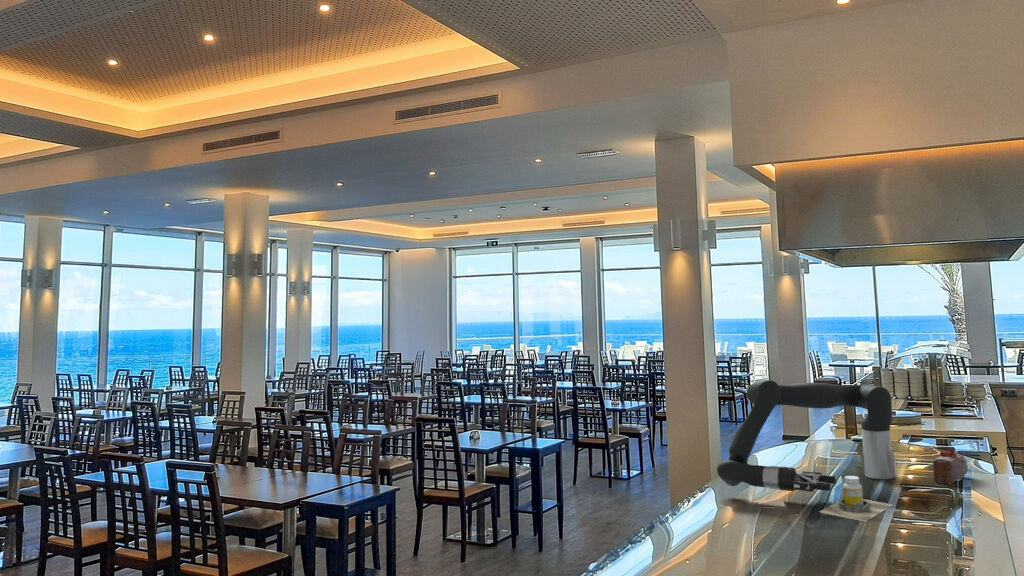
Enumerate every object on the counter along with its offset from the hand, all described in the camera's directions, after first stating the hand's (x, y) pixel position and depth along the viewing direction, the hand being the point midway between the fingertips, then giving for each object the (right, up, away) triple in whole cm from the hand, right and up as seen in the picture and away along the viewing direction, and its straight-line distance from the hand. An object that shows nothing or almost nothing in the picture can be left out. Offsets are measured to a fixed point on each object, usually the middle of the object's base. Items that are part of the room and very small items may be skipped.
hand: (832, 483), depth 213 cm
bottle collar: (+5, -7, -3) cm, 9 cm away
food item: (+52, -5, +23) cm, 57 cm away
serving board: (+6, -8, -3) cm, 10 cm away
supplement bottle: (+5, -7, -3) cm, 9 cm away
